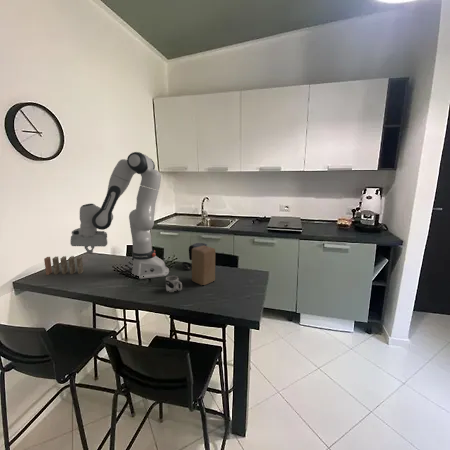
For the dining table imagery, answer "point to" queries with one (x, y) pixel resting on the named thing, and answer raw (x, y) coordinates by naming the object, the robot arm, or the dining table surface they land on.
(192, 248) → the milk frother
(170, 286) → the mug
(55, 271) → the domino
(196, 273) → the wooden block
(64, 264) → the domino
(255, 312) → the dining table surface
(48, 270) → the domino
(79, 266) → the domino
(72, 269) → the domino
